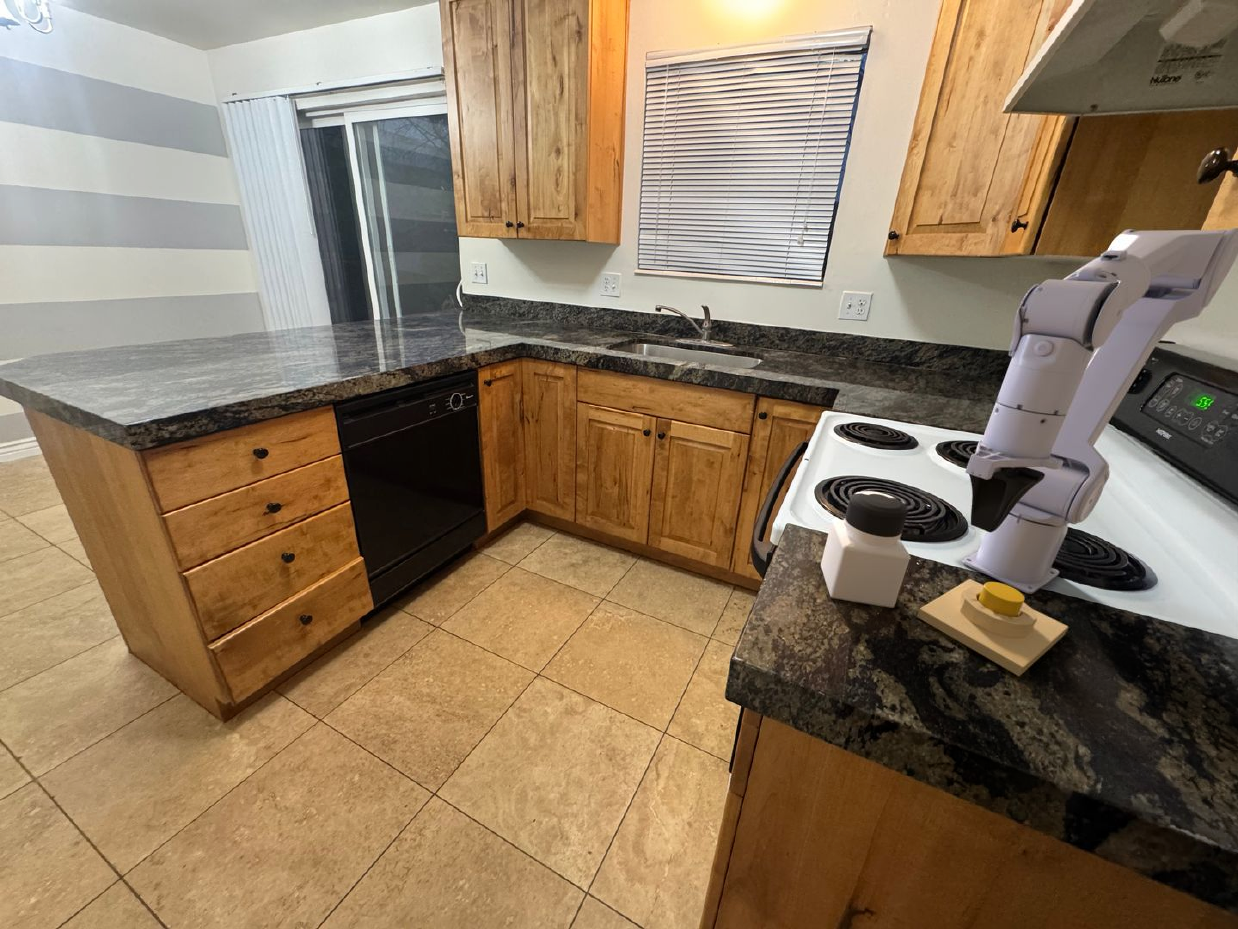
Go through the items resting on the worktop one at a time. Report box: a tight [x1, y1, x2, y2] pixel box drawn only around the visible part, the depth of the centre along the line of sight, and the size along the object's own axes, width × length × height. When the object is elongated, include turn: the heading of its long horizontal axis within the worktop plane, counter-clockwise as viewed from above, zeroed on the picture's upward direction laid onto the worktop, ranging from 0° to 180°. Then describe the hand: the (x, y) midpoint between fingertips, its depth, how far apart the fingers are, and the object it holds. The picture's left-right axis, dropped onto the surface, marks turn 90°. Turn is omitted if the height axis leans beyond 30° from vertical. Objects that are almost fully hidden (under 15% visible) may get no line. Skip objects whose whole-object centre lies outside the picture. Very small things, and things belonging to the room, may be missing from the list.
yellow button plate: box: [916, 578, 1069, 677], centre depth 55 cm, size 12×10×3 cm
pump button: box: [978, 581, 1026, 617], centre depth 54 cm, size 4×4×2 cm
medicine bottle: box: [820, 490, 912, 609], centre depth 58 cm, size 7×7×12 cm
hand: (983, 527), depth 55 cm, fingers closed
